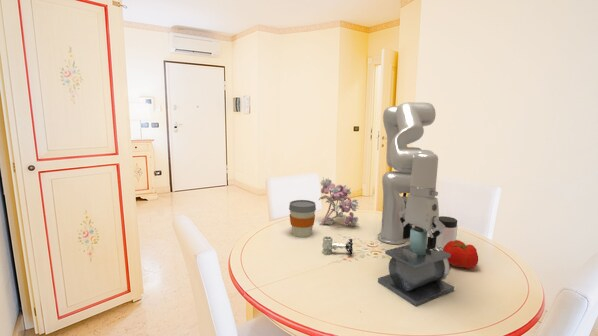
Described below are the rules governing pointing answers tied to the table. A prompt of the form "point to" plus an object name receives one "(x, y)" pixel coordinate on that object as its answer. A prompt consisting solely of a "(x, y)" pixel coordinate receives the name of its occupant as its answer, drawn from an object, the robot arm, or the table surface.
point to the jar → (447, 231)
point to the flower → (339, 195)
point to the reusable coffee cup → (302, 217)
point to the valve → (335, 246)
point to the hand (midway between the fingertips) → (418, 243)
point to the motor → (417, 274)
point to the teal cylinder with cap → (418, 241)
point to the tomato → (461, 254)
